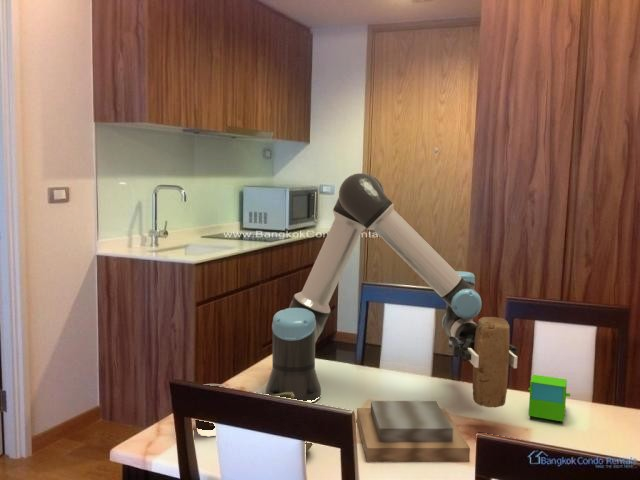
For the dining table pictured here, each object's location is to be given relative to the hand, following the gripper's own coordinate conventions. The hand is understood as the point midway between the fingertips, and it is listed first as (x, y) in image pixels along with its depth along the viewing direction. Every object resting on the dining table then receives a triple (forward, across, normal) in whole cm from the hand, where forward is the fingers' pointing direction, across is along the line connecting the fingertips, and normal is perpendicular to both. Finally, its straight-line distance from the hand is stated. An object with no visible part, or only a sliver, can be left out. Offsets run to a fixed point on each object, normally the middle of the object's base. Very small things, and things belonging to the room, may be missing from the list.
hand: (496, 362), depth 136 cm
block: (-5, 0, -11) cm, 12 cm away
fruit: (+7, +46, -19) cm, 51 cm away
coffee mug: (-5, +64, -20) cm, 67 cm away
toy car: (-15, -20, -18) cm, 31 cm away
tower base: (0, +19, -19) cm, 27 cm away
